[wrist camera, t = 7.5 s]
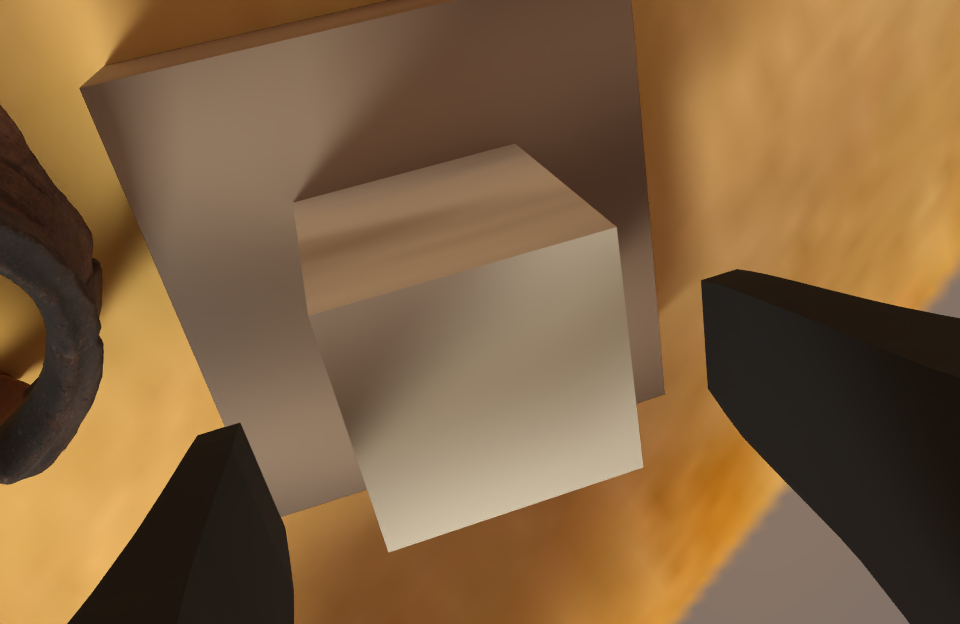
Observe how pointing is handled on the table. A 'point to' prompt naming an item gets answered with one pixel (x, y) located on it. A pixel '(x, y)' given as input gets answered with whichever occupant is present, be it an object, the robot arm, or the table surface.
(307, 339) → the grey flat square block
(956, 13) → the table surface
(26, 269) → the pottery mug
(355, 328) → the maple cube
